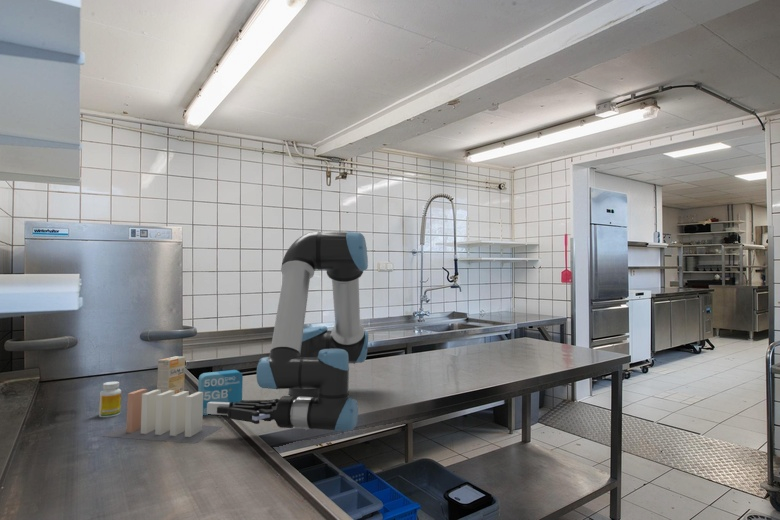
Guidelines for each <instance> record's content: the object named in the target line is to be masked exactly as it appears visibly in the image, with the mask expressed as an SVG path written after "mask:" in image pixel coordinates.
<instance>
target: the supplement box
mask: <svg viewBox="0 0 780 520" xmlns="http://www.w3.org/2000/svg"><path fill="white" fill-rule="evenodd" d="M157 362H158V363H157V384H156V385H157V386H156V390H161V393H164V392H166V391H169V390H174V391H175V394H177V393H180V392H182V391H185V372H186V369H185V368H186V356H178V355H177V356H171V357H166V358H162V359H157Z"/></svg>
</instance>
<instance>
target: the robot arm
mask: <svg viewBox="0 0 780 520" xmlns="http://www.w3.org/2000/svg"><path fill="white" fill-rule="evenodd" d="M368 266H369V261H368V247H367V243H366V238H365V236H364V234H362V233H361V232H354V231H347V232H346V231H311V232H307V233H305V234H303V235H301V236H299V237H298V238H297V239H296V240H295V241H294V242H293V243H291V245H290V246H289V247H288V248H287V251H286V253H285V254H284V256H283V258H282V262H281V266H280V267H281V268H280V273H281V274H282V275H283V277H282V284H281V286H280V292H279V293H280V294H279V298H278V299H279V300H278V304H277V311H276V316H275V322H274V328H273V334H272V339H271V345H270V350H269V356H264V357H261V358H260V359H259V360H258V363H257V366H256V382H257V385H258V386H259V387H260V388H262V389H268V390H269V389H271V390H282V389H283V390H284V389H287V390H288V395H283V396H281V397H280V398H274V399H253V400H252V399H248V400H247V399H246V400H244V399H242V400H241V401H240V402H235V404H234V403H233V402H230V403H229V402H208V403H207V414H211V415H219V416H220V415H222V416H227V419H228V420H234V421H243V422H249V423H252V424H254V425H259V424H260V421H264V422H271V421H273V420H274V421H275V423H276V425H277V426H278V428H282V429H283V428H284V429H293V428H295V429H303V430H304V431H306V432H307V431H308V430H321V431H330V432H331V431H332V432H350V431H352V430H354V429H355V428H356V426H357V423H358V417H359V407H358V406H359V404H358V402H357V399H355V398H351V397H350V394H349V383H350V382H349V379H350V377H349V376H350V374H349V372H350V366H349V365H350V364H361V363H364V362H365V361H366V359H367V355H368V347H369V346H368V345H369V331H368V330H366V329H364V326H363V325H362V324H361V315H360V314H361V313H360V312H361V311H360V279H361V277H362V276H363V274H364V271H367V270H368V268H369V267H368ZM316 270H317V271H326V275H327V277H328V278H329V279H330V280H331V283H332V300H333V313H334V326H333V327H332V329H331V330H328V327H327V326H325V325H324V326H322V325H321V326H312V327H306V328H304V327H305V322H306V321H305V318H306V313H307V312H306V311H307V306H308V304H307V303H308V297H309V290H310V282H311V281H310V280H311V279H312V278H313V277H314V275H315V271H316Z"/></svg>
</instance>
